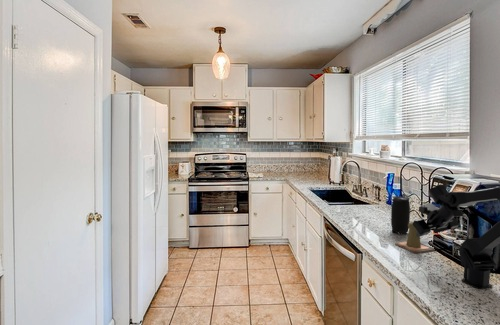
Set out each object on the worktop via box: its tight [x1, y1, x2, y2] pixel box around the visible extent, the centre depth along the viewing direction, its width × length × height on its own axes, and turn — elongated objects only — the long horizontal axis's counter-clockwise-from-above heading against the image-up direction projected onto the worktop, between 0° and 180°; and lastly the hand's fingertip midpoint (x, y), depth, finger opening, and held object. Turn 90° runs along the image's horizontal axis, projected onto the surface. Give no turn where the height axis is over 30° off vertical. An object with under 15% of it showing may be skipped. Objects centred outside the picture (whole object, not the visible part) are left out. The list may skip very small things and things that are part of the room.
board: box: [394, 238, 435, 255], centre depth 140 cm, size 12×20×1 cm, turn 108°
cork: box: [406, 221, 421, 248], centre depth 138 cm, size 6×6×11 cm
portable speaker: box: [390, 195, 411, 235], centre depth 160 cm, size 9×9×20 cm
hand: (425, 234), depth 129 cm, fingers open, 9 cm apart
